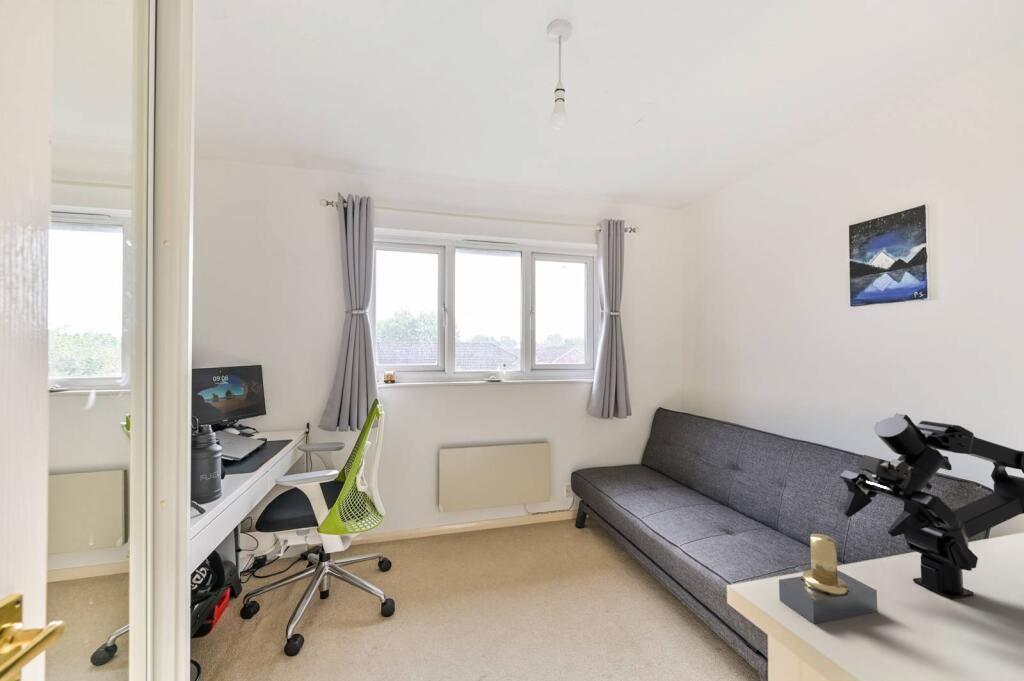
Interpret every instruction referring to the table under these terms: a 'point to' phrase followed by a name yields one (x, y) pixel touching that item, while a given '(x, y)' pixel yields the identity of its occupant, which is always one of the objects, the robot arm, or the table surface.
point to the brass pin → (824, 567)
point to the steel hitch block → (827, 599)
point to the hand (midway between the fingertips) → (866, 524)
